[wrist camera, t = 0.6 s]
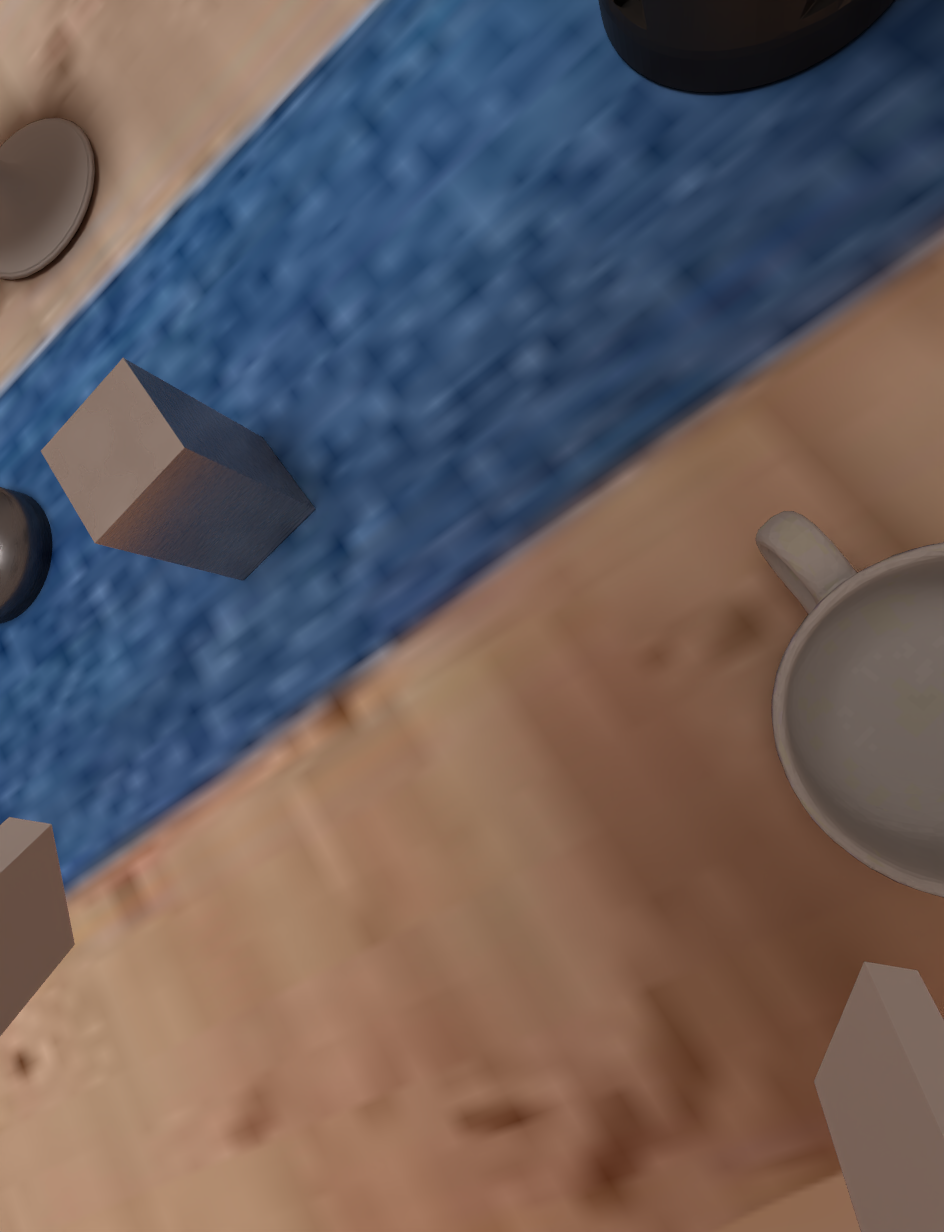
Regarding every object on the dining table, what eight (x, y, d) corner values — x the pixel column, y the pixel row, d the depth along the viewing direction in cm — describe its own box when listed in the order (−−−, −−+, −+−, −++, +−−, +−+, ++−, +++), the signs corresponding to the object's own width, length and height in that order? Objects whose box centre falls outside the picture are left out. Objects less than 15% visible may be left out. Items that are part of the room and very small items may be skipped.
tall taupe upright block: (261, 436, 41) (123, 357, 31) (315, 509, 39) (184, 447, 30) (194, 507, 42) (40, 450, 33) (242, 580, 40) (94, 543, 31)
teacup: (1144, 784, 25) (1318, 817, 18) (850, 896, 28) (893, 965, 21) (921, 468, 29) (987, 386, 21) (679, 594, 32) (663, 560, 24)
